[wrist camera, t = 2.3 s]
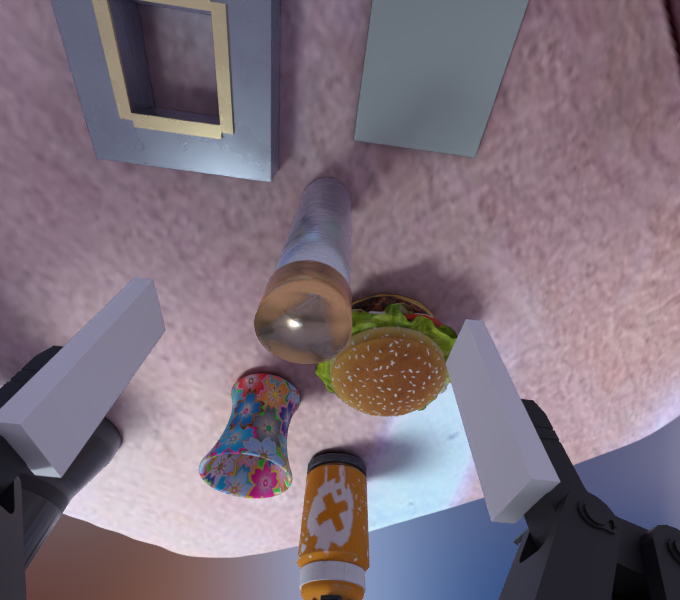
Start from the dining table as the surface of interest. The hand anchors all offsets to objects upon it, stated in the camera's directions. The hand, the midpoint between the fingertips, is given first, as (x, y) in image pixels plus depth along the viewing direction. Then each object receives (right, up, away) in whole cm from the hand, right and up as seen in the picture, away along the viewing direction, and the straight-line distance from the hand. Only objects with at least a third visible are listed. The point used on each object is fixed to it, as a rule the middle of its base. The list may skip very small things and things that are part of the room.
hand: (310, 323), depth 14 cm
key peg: (0, +9, +13) cm, 16 cm away
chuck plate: (-9, +17, +8) cm, 20 cm away
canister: (+1, -25, +38) cm, 45 cm away
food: (+6, -3, +22) cm, 23 cm away
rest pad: (+7, +16, +8) cm, 19 cm away
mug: (-9, -11, +28) cm, 31 cm away
